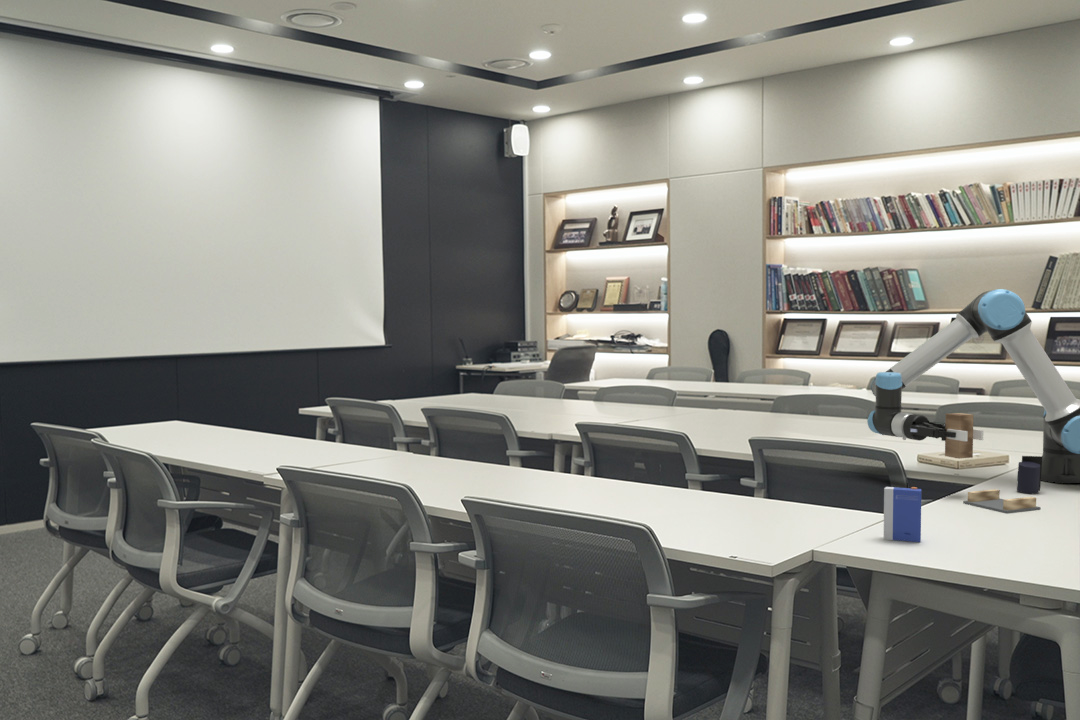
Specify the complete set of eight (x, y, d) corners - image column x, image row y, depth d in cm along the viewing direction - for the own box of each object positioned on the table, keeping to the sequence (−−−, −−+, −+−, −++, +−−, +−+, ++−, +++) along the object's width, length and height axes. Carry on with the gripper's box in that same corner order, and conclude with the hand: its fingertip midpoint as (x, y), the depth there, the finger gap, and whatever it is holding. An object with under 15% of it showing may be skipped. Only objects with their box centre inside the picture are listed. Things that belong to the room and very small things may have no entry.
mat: (995, 499, 255) (996, 497, 254) (1040, 509, 242) (1040, 507, 242) (963, 503, 250) (963, 501, 250) (1006, 513, 237) (1006, 511, 237)
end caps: (994, 498, 254) (994, 489, 254) (1036, 507, 242) (1036, 497, 242) (967, 501, 250) (967, 491, 250) (1008, 510, 238) (1008, 500, 238)
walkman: (920, 539, 210) (921, 487, 209) (920, 542, 207) (920, 489, 207) (884, 536, 213) (884, 485, 212) (883, 539, 210) (883, 487, 210)
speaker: (1018, 487, 271) (1020, 453, 269) (1040, 490, 268) (1042, 456, 266) (1014, 494, 264) (1017, 459, 263) (1037, 497, 261) (1040, 462, 260)
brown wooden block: (958, 455, 261) (959, 412, 261) (972, 457, 257) (973, 414, 256) (944, 456, 260) (945, 413, 259) (958, 458, 255) (959, 415, 254)
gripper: (934, 437, 278) (998, 447, 256) (887, 440, 271) (949, 451, 250) (935, 412, 278) (999, 420, 256) (887, 415, 271) (949, 423, 249)
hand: (974, 435), depth 253 cm, fingers closed on brown wooden block, 5 cm apart
